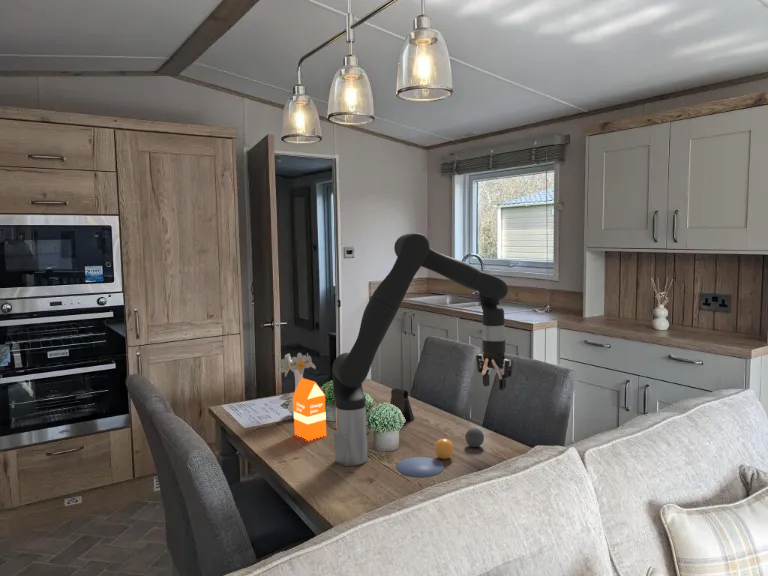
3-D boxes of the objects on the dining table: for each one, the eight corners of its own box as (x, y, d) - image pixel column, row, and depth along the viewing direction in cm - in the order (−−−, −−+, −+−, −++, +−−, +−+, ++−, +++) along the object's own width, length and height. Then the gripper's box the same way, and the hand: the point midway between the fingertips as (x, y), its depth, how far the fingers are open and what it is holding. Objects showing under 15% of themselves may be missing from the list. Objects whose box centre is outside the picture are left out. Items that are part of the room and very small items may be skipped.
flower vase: (298, 407, 229) (295, 347, 227) (326, 416, 216) (324, 353, 214) (271, 414, 220) (268, 352, 218) (298, 425, 207) (296, 359, 204)
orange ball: (444, 463, 168) (443, 444, 168) (430, 457, 173) (430, 439, 172) (458, 458, 172) (457, 439, 172) (444, 452, 177) (443, 434, 176)
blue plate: (419, 481, 156) (419, 480, 156) (387, 466, 167) (387, 465, 167) (453, 467, 165) (453, 466, 165) (421, 454, 176) (421, 453, 176)
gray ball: (475, 451, 177) (475, 433, 177) (461, 446, 182) (461, 428, 181) (487, 446, 181) (487, 428, 180) (474, 441, 185) (473, 424, 185)
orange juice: (308, 441, 190) (305, 384, 188) (294, 435, 197) (291, 379, 195) (327, 435, 195) (324, 379, 193) (312, 429, 202) (310, 375, 200)
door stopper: (397, 425, 203) (397, 393, 202) (386, 422, 208) (385, 390, 206) (414, 419, 210) (413, 388, 209) (402, 416, 214) (401, 385, 213)
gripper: (469, 337, 188) (470, 385, 189) (503, 342, 177) (504, 394, 178) (484, 334, 192) (485, 381, 194) (518, 339, 181) (518, 389, 183)
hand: (494, 387), depth 186 cm, fingers open, 6 cm apart
